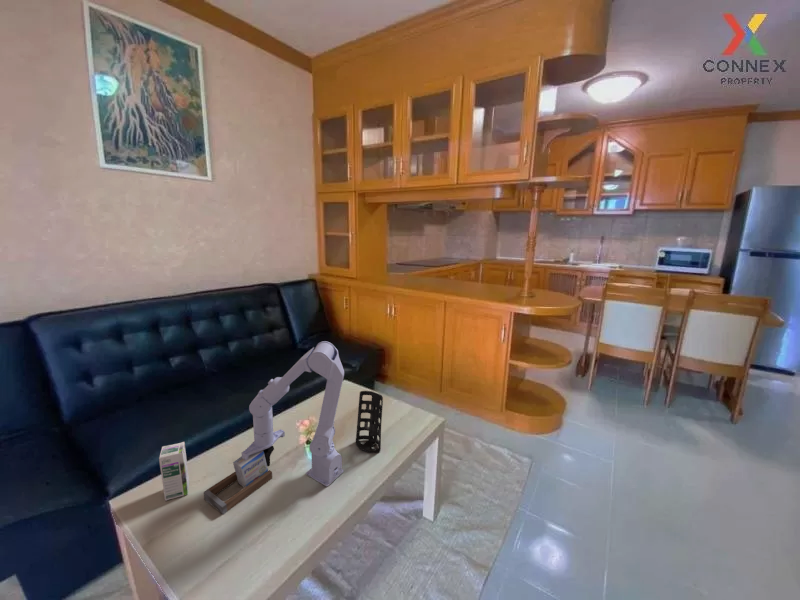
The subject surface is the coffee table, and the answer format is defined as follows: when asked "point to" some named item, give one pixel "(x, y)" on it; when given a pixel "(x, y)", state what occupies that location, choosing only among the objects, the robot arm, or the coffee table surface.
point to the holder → (373, 420)
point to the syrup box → (174, 470)
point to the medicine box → (250, 468)
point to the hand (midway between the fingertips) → (265, 465)
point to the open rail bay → (238, 497)
